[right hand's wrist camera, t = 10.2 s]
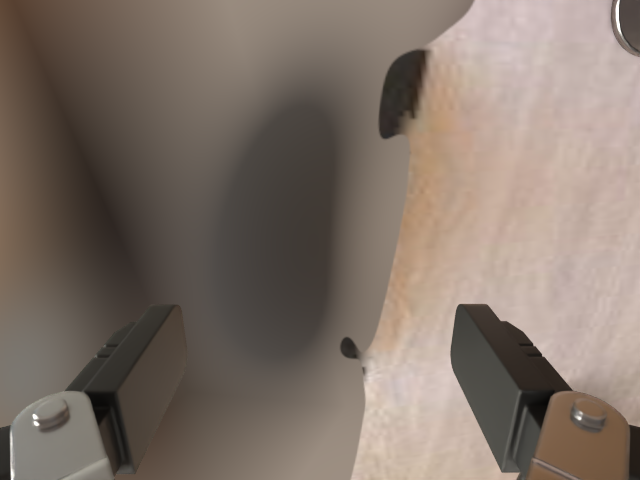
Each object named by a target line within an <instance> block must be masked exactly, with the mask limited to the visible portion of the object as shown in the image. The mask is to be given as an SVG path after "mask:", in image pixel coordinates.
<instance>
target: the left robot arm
mask: <svg viewBox="0 0 640 480" xmlns="http://www.w3.org/2000/svg"><path fill="white" fill-rule="evenodd" d="M517 480H525V479H524V478H523V476H522V474H521V472H520V473H519V475H518V477H517Z"/></svg>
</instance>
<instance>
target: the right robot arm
mask: <svg viewBox="0 0 640 480" xmlns="http://www.w3.org/2000/svg"><path fill="white" fill-rule="evenodd" d="M611 22H612V28H613V32H614V35H615V37H616V39H617V41H618V42H619V44H620V45H621V46H622V47H623V48H624V49H625V50H626V51H628V52H629V53H631V54H633V55H635V56H638V57H640V0H613V3H612V9H611ZM186 364H187V345H186V338H185V331H184V323H183V316H182V310H181V308H180V306H179V305H151V306H149V307H148V309H147V310H146V311H145V312H144V314H143V315H142V316H141V317H140V319H139V320H138V321H137V322H130V323H129V324H127V325H126V326H124V327H122V328H121V329H119V330H118V331H116V332H115V333H114V334H113V335H112V336H111V337H110V338H109V340H108V341H107V342H106V343H105V344H104V347H102V348H101V349H100V350H99V351H98V352H97V354H96V355H95V358H92V359H91V361H90V362H89V363H88V364H87V365H86V367H85V368H84V369H83V370H82V371H81V372H80V374H79V375H78V376H77V377H76V378H75V379H74V381H73V382H72V383H71V384H70V385H69V386H68V388H67V389H66V390H65V391H64V392H59V393H56V394H52V395H49V396H47V397H44V398H42V399H40V400H38V401H36V402H34V403H33V404H31V405H29V406H28V407H27V408H25V409H24V410H23V411H22V412H21V413H20V414H19V415H18V416H17V417H16V418H15V419H14V421H13V423H12V425H10V426H6V427H2V428H0V480H115V479H114V477H115V475H116V474H135V473H136V471H137V469H138V467H139V465H140V463H141V461H142V459H143V457H144V455H145V453H146V451H147V448H148V446H149V444H150V442H151V440H152V438H153V436H154V434H155V432H156V430H157V428H158V426H159V424H160V422H161V420H162V417H163V415H164V413H165V411H166V409H167V407H168V405H169V403H170V401H171V399H172V397H173V395H174V393H175V391H176V389H177V386H178V384H179V382H180V380H181V378H182V376H183V374H184V372H185V369H186ZM451 364H452V368H453V371H454V373H455V376H456V378H457V380H458V382H459V384H460V386H461V388H462V390H463V392H464V394H465V396H466V399H467V401H468V403H469V405H470V407H471V409H472V411H473V413H474V415H475V417H476V419H477V422H478V424H479V426H480V428H481V430H482V432H483V434H484V436H485V438H486V440H487V442H488V444H489V447H490V449H491V451H492V453H493V455H494V457H495V459H496V461H497V463H498V465H499V467H500V470H501V472H521V474H522V476H523V478H524V479H525V480H640V427H637V426H632V425H628V423H627V421H626V419H625V418H624V417H623V416H622V415H621V414H620V413H619V412H618V411H617V410H616V409H615V408H613V407H612V406H611V405H609V404H607V403H606V402H604V401H602V400H600V399H598V398H596V397H593V396H591V395H588V394H585V393H581V392H575V391H573V390H572V389H571V388H570V387H569V385H568V384H567V383H566V382H565V381H564V380H563V378H562V377H561V376H560V375H559V374H558V373H557V371H556V370H555V369H554V368H553V367H552V365H551V364H550V363H549V362H548V361H547V360H546V358H545V357H542V354H541V352H540V351H539V350H538V349H537V348H536V347H535V346H533V343H532V342H531V341H530V340H529V338H528V337H527V336H526V335H525V334H524V332H523V331H521V330H519V329H518V328H516V327H515V326H513V325H512V324H510V323H509V322H507V321H500V320H499V318H498V317H497V316H496V315H495V313H494V312H493V311H492V310H491V308H490V307H489V306H488V305H487V304H459V305H458V307H457V310H456V315H455V322H454V329H453V337H452V344H451Z"/></svg>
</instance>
